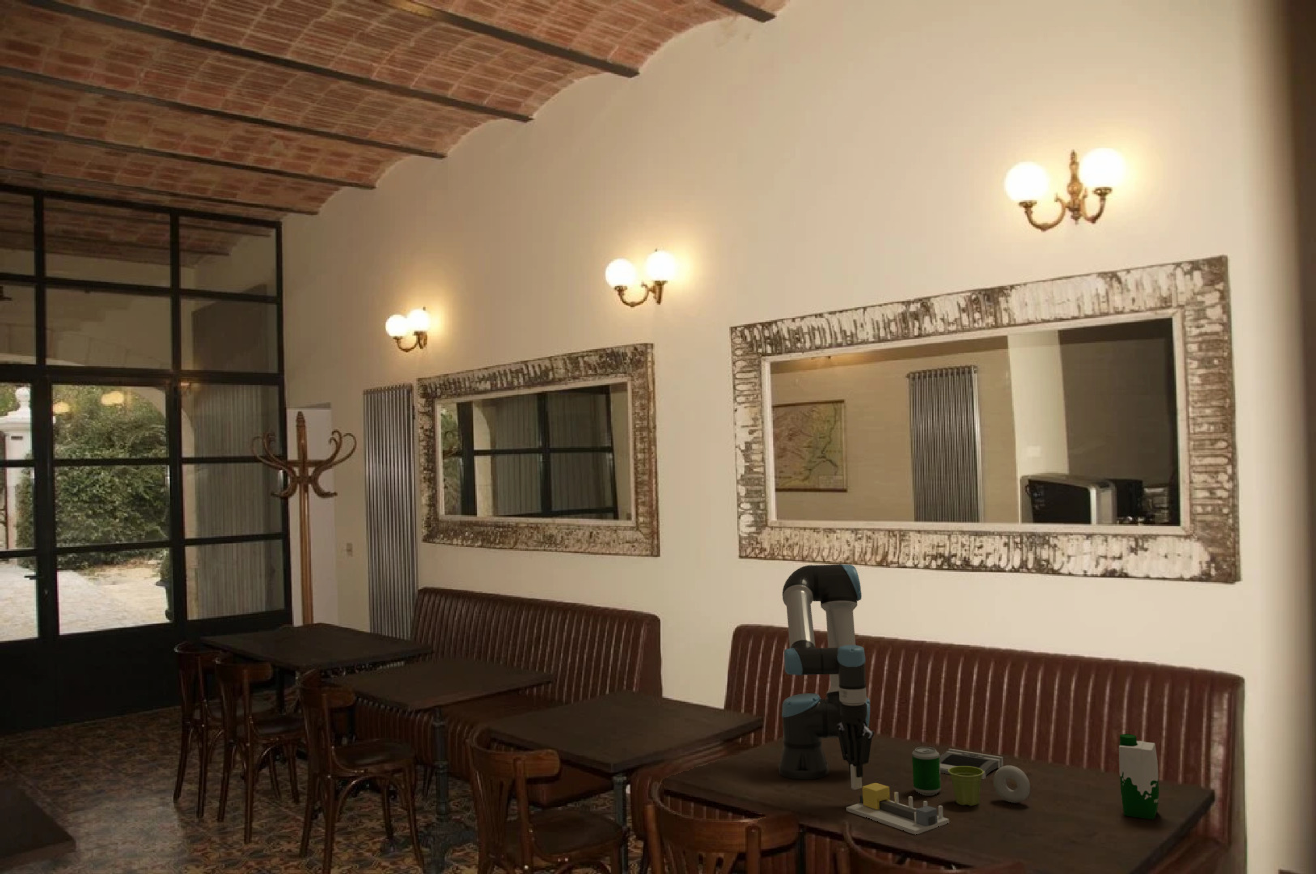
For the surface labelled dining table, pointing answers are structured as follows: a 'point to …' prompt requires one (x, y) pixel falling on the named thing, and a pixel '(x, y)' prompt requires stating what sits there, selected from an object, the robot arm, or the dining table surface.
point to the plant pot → (966, 784)
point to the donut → (1020, 779)
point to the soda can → (926, 770)
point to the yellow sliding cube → (875, 794)
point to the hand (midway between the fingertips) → (856, 788)
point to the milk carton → (1138, 777)
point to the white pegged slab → (902, 815)
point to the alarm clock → (969, 761)
